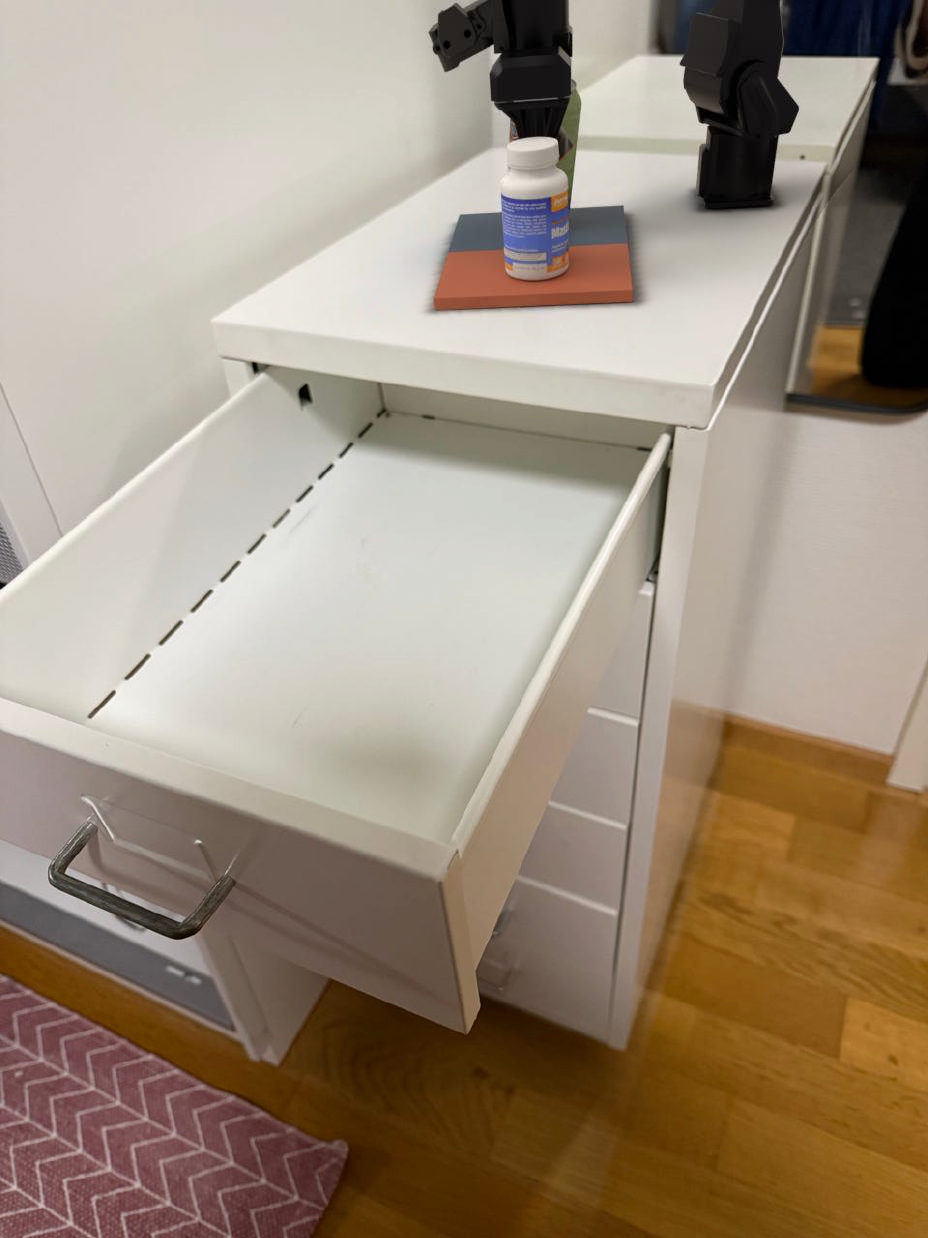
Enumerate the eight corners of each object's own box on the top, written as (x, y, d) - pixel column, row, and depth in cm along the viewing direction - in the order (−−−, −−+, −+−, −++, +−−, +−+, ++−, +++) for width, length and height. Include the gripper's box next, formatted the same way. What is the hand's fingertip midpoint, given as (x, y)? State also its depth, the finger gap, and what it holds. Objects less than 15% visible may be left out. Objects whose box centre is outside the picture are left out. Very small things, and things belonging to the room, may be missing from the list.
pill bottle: (565, 282, 72) (564, 151, 65) (499, 282, 73) (492, 153, 66) (572, 257, 75) (572, 131, 69) (510, 258, 77) (504, 134, 70)
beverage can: (529, 209, 86) (523, 67, 78) (594, 218, 82) (596, 69, 75) (492, 229, 82) (483, 82, 75) (559, 239, 79) (556, 86, 71)
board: (623, 215, 85) (623, 204, 85) (632, 301, 70) (633, 289, 69) (460, 224, 88) (459, 214, 87) (434, 310, 72) (433, 298, 71)
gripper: (443, -51, 76) (459, 146, 87) (413, -24, 63) (436, 207, 73) (572, -63, 75) (572, 139, 85) (570, -39, 61) (571, 199, 72)
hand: (537, 168), depth 79 cm, fingers open, 9 cm apart
